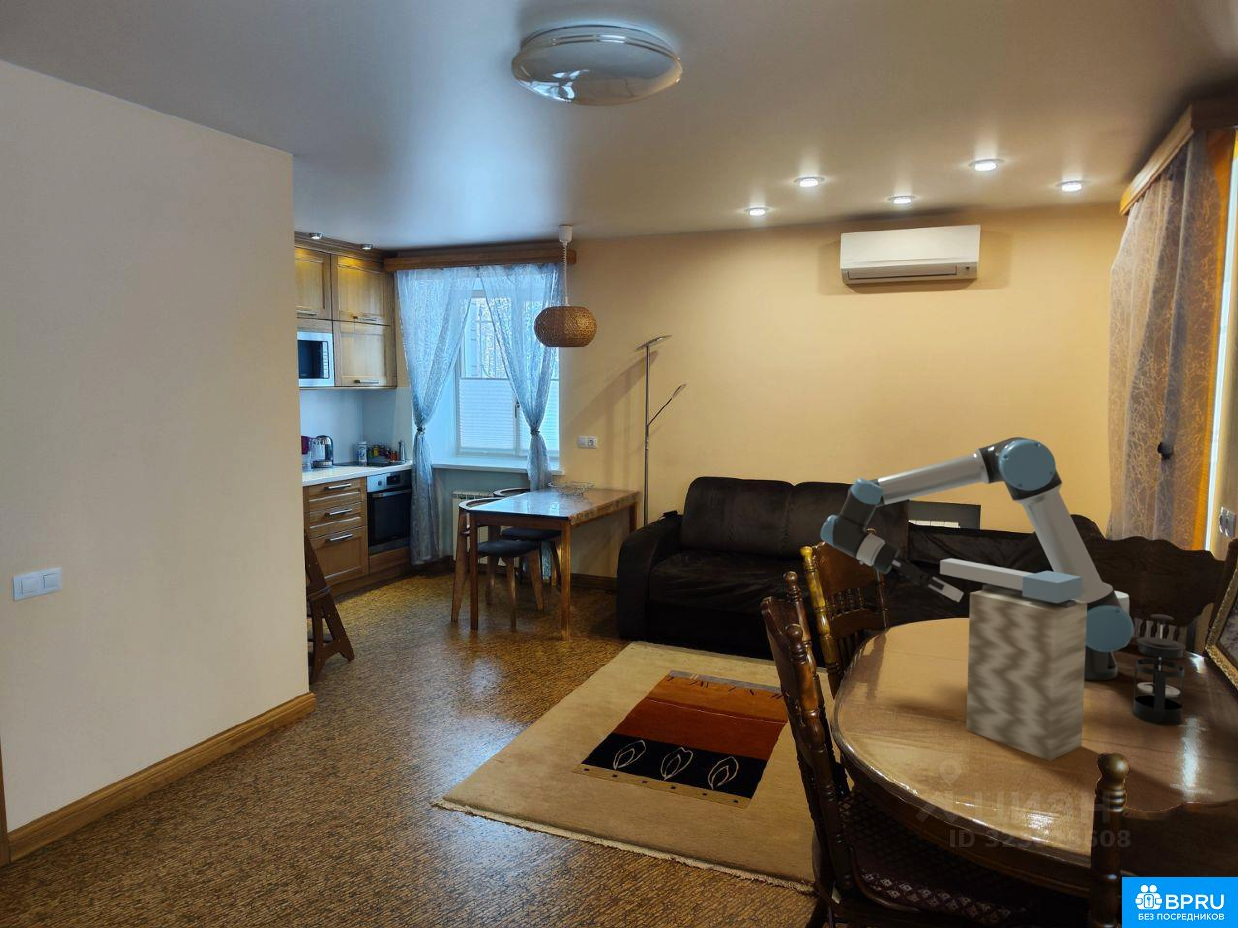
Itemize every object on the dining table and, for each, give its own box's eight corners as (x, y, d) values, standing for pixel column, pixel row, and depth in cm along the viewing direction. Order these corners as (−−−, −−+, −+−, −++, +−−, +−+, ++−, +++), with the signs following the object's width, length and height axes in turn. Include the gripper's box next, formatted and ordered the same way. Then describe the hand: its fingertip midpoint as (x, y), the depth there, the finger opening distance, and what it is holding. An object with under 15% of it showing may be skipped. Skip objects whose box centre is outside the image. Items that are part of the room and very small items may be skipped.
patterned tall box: (966, 729, 172) (970, 588, 169) (998, 716, 178) (1002, 580, 176) (1050, 760, 157) (1055, 606, 154) (1081, 745, 163) (1087, 597, 161)
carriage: (933, 577, 178) (933, 559, 178) (957, 571, 183) (957, 554, 183) (1057, 603, 155) (1058, 583, 155) (1081, 596, 160) (1081, 576, 160)
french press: (1131, 704, 184) (1135, 607, 182) (1181, 712, 179) (1186, 612, 177) (1132, 722, 174) (1137, 619, 172) (1185, 731, 169) (1190, 625, 167)
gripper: (879, 570, 215) (955, 611, 205) (863, 563, 194) (947, 608, 183) (893, 546, 215) (969, 585, 205) (878, 536, 193) (963, 579, 183)
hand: (959, 596), depth 194 cm, fingers open, 13 cm apart
